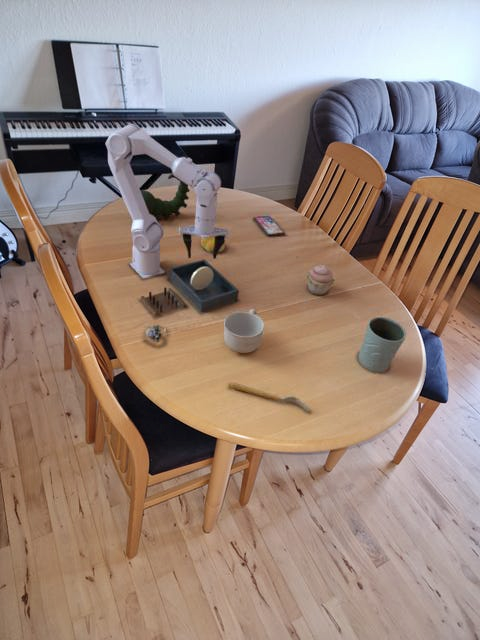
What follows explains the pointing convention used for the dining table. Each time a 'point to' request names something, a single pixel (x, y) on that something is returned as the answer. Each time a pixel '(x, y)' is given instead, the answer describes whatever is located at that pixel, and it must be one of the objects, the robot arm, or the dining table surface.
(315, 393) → the dining table surface
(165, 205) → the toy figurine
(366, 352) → the green cylindrical pot
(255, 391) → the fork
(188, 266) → the dark blue tray
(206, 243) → the bread roll
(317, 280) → the cupcake
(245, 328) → the teacup
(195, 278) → the plate
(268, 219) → the smartphone
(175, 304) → the plate rack
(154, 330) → the oyster shell
